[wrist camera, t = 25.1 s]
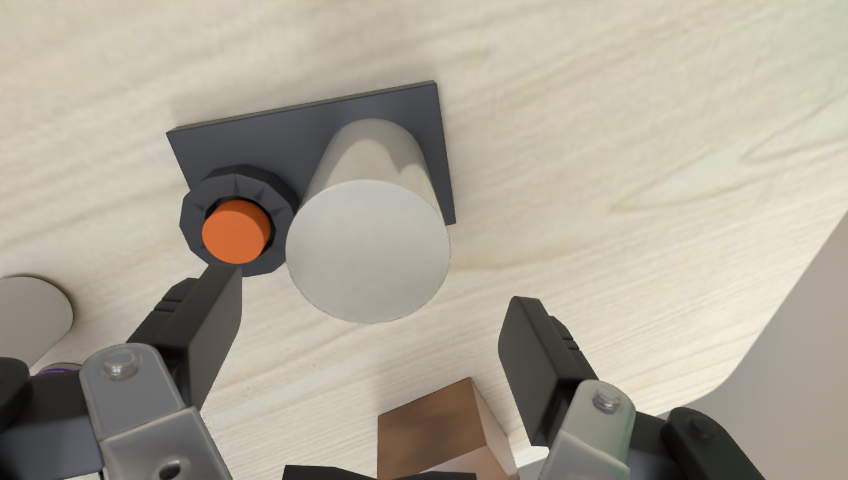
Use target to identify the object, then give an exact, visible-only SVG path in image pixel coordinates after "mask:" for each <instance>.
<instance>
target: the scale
mask: <svg viewBox="0 0 848 480" xmlns="http://www.w3.org/2000/svg"><path fill="white" fill-rule="evenodd" d="M367 118H378V119H384V120H388V121H391V122H394V123H396V124H398V125H400V126H402V127H403V128H404V129H406V130H407V131H408V132H409V133H410V134H411V135H412V136H413V137H414V138H415V139H416V141H417V142H418V144H419V145H420V147H421V150H422V152H423V155H424V158H425V161H426V165H427V168H428V171H429V174H430V177H431V181H432V184H433V187H434V190H435V194H436V197H437V200H438V203H439V206H440V210H441V213H442V216H443V219H444V222H445V226H446V225H451V224H455V223H456V217H455V210H454V203H453V196H452V189H451V182H450V175H449V168H448V161H447V153H446V146H445V139H444V132H443V125H442V118H441V111H440V104H439V97H438V90H437V84H436V83H435V82H434V81H433V80H431V81H426V82H420V83H415V84H409V85H404V86H399V87H393V88H388V89H382V90H377V91H371V92H366V93H360V94H355V95H349V96H344V97H338V98H333V99H327V100H322V101H316V102H311V103H305V104H300V105H294V106H289V107H283V108H278V109H273V110H267V111H262V112H256V113H251V114H245V115H240V116H234V117H229V118H223V119H218V120H212V121H207V122H201V123H196V124H190V125H185V126H179V127H176V128H174V129H172V130H170V131H168V132H166V135H167V137H168V140H169V142H170V144H171V147H172V149H173V151H174V154H175V156H176V158H177V160H178V163H179V165H180V167H181V170H182V172H183V174H184V177H185V179H186V181H187V184H188V186H189V188H190V190H191V191H190V192H189V193H188V194H187V195H186V196H185V197H184V199H183V204H182V211H181V217H180V225H179V226H180V228H181V230H182V232H183V235H184V237H185V239H186V241H187V243H188V245H189V248H190V250H191V251H192V252H193V253H194V254H196V255H197V256H198V257H200V258H201V259H202V260H203V261H205V262H206V263H207V264H209V265H210V263H212V262H214V263H223V264H232V265H240V266H241V269H242V277H250V276H256V275H261V274H266V273H271V272H273V271H275V270H276V269H277V268H278V267H280V266H281V265H282V264H283V263H284V262H286V250H285V247H286V238H287V235H288V231H289V228H290V226H291V223H292V221H293V219H294V217H295V215H296V213H297V210H298V208H299V206H300V204H301V202H302V199H303V197H304V195H305V193H306V191H307V189H308V186H309V184H310V182H311V180H312V178H313V176H314V173H315V171H316V169H317V167H318V165H319V163H320V160H321V158H322V156H323V154H324V152H325V150H326V147H327V145H328V143H329V142H330V140H331V139H332V137H333V136H334V135H335V134H336V133H337V132H338V131H339V130H340V129H342V128H343V127H345V126H346V125H348V124H350V123H352V122H354V121H358V120H361V119H367ZM231 200H244V201H248V202H251V203H253V204H255V205H256V206H258V207H259V208H260V209H262V210H263V211H264V213H265V214H266V215H267V217H268V219H269V222H270V226H271V232H270V236H269V238H268V240H267V242H266V244H265V246H264V248H263V250H262V252H261V253H260V254H259V255H258V256H257V257H256V258H255V259H254V260H252V261H249V262H246V263H241V264H233V263H228V262H225V261H222V260H220V259H218V258H217V257H215V256H214V255H213V254H212V253H211V252H210V251H209V250H208V249H207V247H206V246H205V244H204V241H203V238H202V229H203V225H204V223H205V221H206V220H207V219H208V218H209V217H210V215H211V214H212V213H213V212H214V211H215V210H216V209H217V208H218V207H219V206H220V205H221V204H223V203H225V202H227V201H231Z"/></svg>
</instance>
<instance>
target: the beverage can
mask: <svg viewBox="0 0 848 480" xmlns="http://www.w3.org/2000/svg"><path fill="white" fill-rule="evenodd" d="M72 322H73V312H72V308H71V304H70V302H69V301H68V299H67V297H66V296H65V295H64V294H63V293H62V292H61V291H60V290H59V289H57V288H56V287H55V286H53V285H52V284H50V283H47V282H45V281H43V280H40V279H36V278H32V277H10V278H2V279H0V357H11V358H16V359H19V360H21V361H23V362H25V363H26V364H27V366H28V369H30V368H31V367H32V366H33V365H34V364H35V363H36V362H37V361H38V360H39V359H40V358H41V357H42V356H43V355H44V354H45V353H46V352H47V351H48V350H49V349H51V348H52V347H53V346H54V345H55V344H56V343H57V342H58V341H59V340H60V339H61V338H62V337H63V336H64V335H65V334H66V333H67V332H68V331H69V329H70V327H71V325H72Z"/></svg>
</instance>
